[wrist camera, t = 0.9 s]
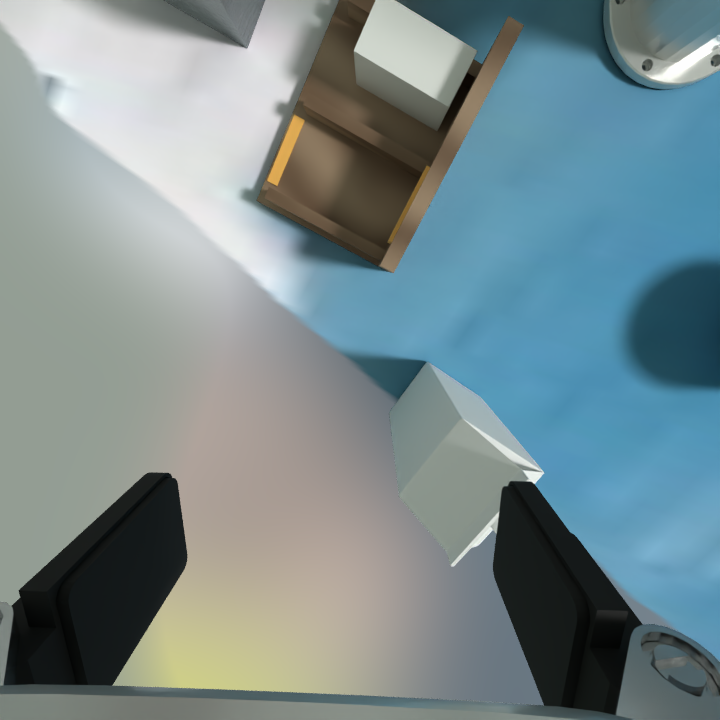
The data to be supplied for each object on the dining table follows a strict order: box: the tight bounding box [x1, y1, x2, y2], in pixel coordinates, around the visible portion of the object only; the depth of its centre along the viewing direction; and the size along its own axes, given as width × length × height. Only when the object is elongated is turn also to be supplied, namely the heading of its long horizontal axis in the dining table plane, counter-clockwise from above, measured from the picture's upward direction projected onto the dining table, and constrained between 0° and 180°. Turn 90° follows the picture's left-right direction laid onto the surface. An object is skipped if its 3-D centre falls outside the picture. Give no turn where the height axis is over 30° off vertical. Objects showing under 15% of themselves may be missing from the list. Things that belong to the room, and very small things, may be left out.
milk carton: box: [389, 362, 544, 567], centre depth 30 cm, size 7×7×19 cm
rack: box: [257, 0, 524, 273], centre depth 30 cm, size 18×14×8 cm
